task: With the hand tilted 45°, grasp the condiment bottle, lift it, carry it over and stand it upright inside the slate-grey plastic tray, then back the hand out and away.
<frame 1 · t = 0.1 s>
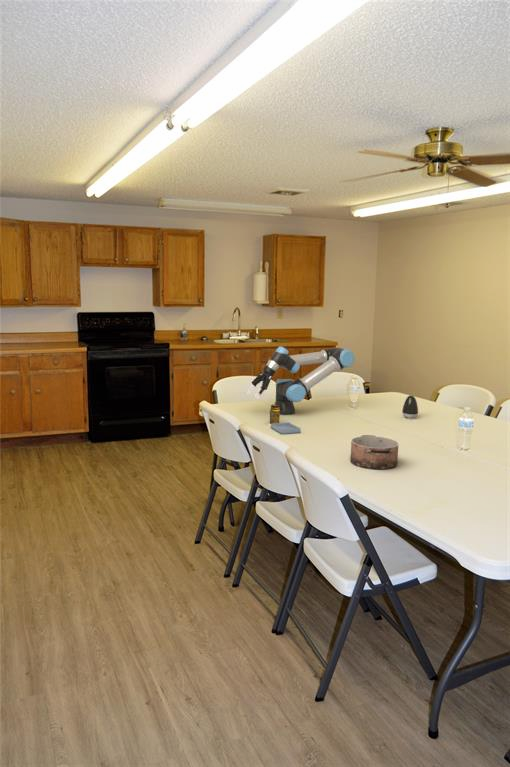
hand: (252, 395, 368), 15 cm above the table, tool tilted 35°, fingers open, 13 cm apart
condiment: (273, 424, 359), on the table
tray: (285, 430, 342), on the table
black bullet-shaped dome: (409, 418, 387), on the table
cooking pot: (373, 463, 281), on the table
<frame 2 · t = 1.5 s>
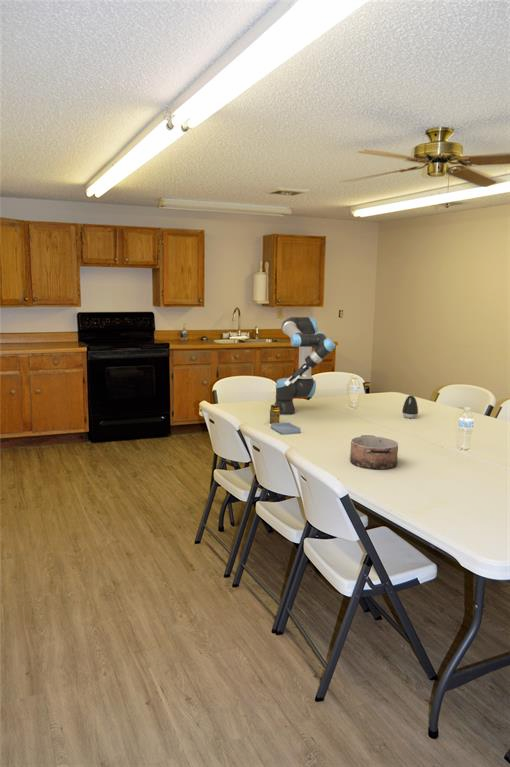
hand: (288, 383, 353), 26 cm above the table, tool tilted 45°, fingers open, 13 cm apart
nothing on the table moved.
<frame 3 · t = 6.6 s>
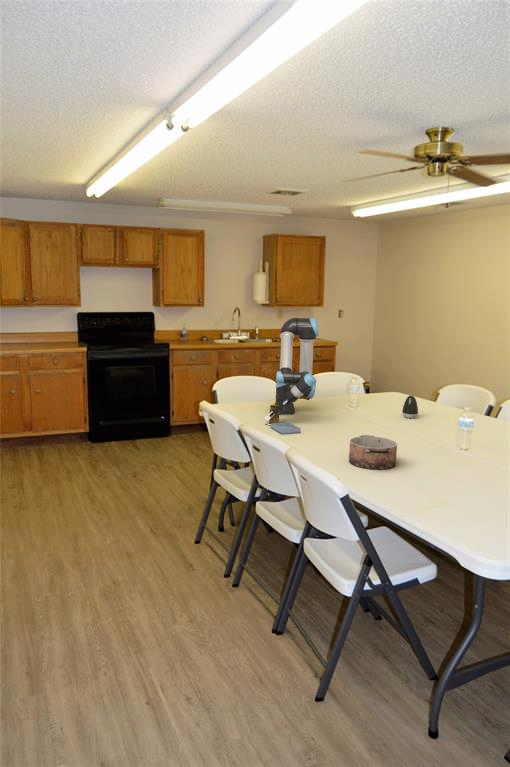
hand: (267, 418, 359), 4 cm above the table, tool tilted 45°, fingers closed on condiment, 6 cm apart
condiment: (272, 424, 358), on the table, touching gripper
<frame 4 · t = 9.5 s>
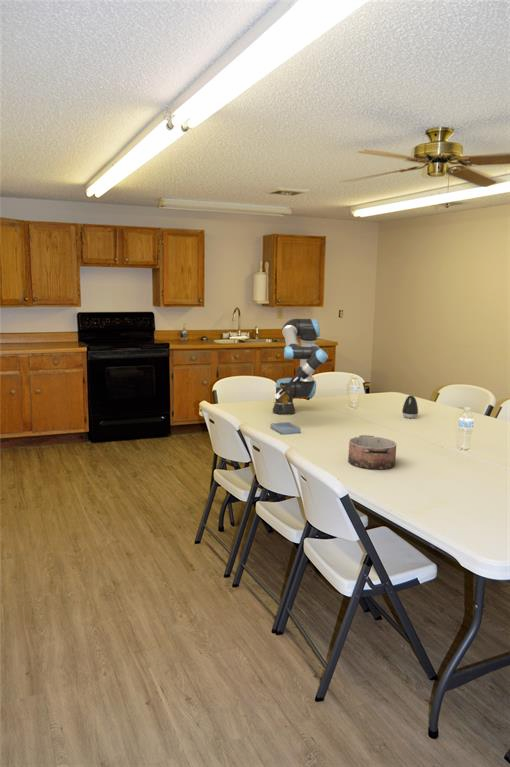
hand: (277, 396, 343), 20 cm above the table, tool tilted 45°, fingers closed on condiment, 6 cm apart
condiment: (282, 403, 342), point 16 cm above the table, touching gripper
when the fingers open (6 cm above the table, at t = 12.5 s): condiment drops 1 cm, resting on tray.
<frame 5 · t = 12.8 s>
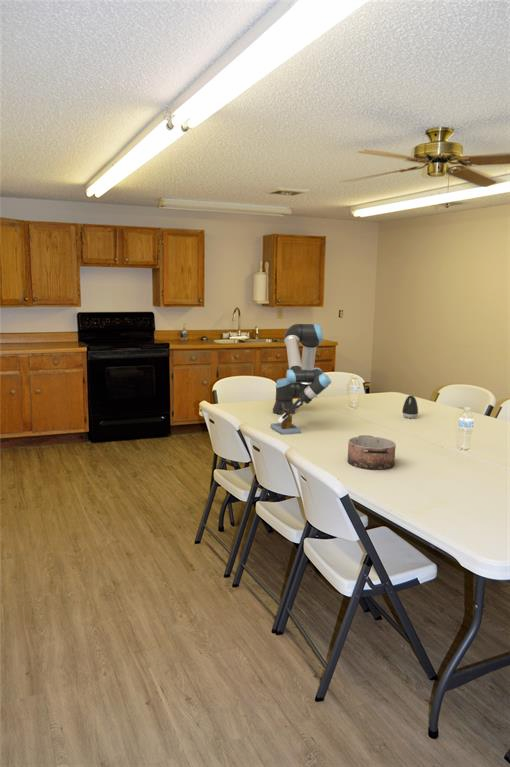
hand: (280, 419, 342), 7 cm above the table, tool tilted 45°, fingers open, 10 cm apart
condiment: (285, 429, 341), point 1 cm above the table, touching tray
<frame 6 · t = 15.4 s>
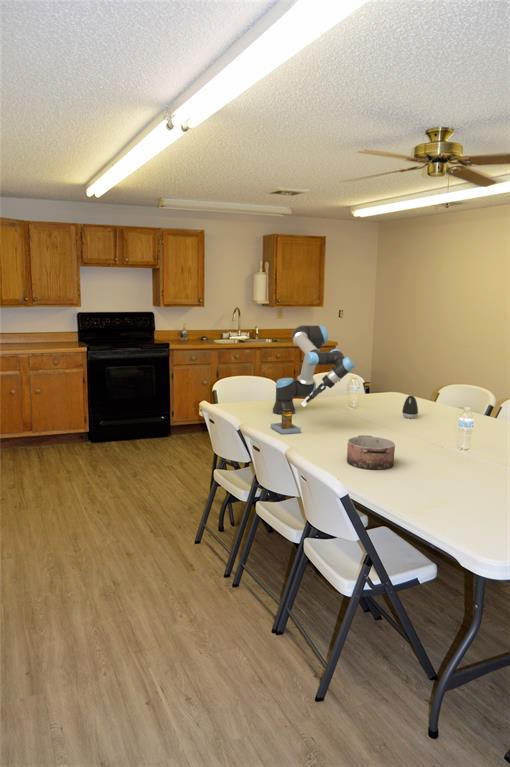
hand: (304, 403, 337), 17 cm above the table, tool tilted 45°, fingers open, 13 cm apart
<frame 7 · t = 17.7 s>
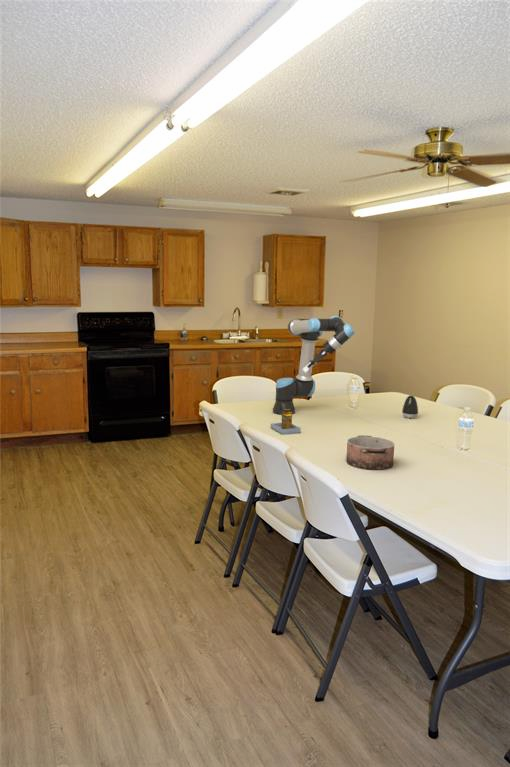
hand: (305, 369, 346), 36 cm above the table, tool tilted 45°, fingers open, 13 cm apart
at the end: condiment inside the target area on the tray (0.6 cm from its centre), point 0.8 cm above the tray's base; condiment tilted 0°; the gripper is holding nothing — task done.
